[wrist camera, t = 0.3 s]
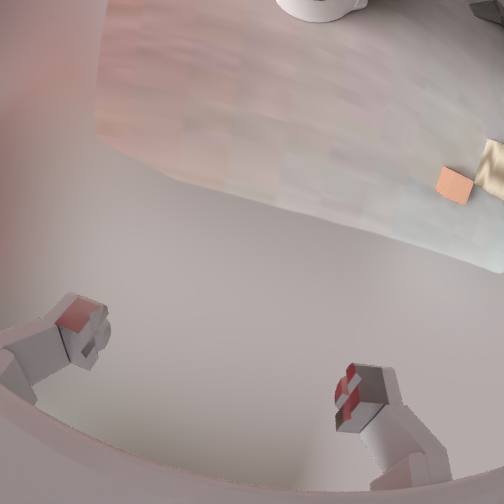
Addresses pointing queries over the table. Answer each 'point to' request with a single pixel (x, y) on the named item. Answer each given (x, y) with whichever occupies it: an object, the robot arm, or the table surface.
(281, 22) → the table surface
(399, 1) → the table surface
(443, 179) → the terracotta cube
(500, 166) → the birch block
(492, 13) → the grey faceted figure
